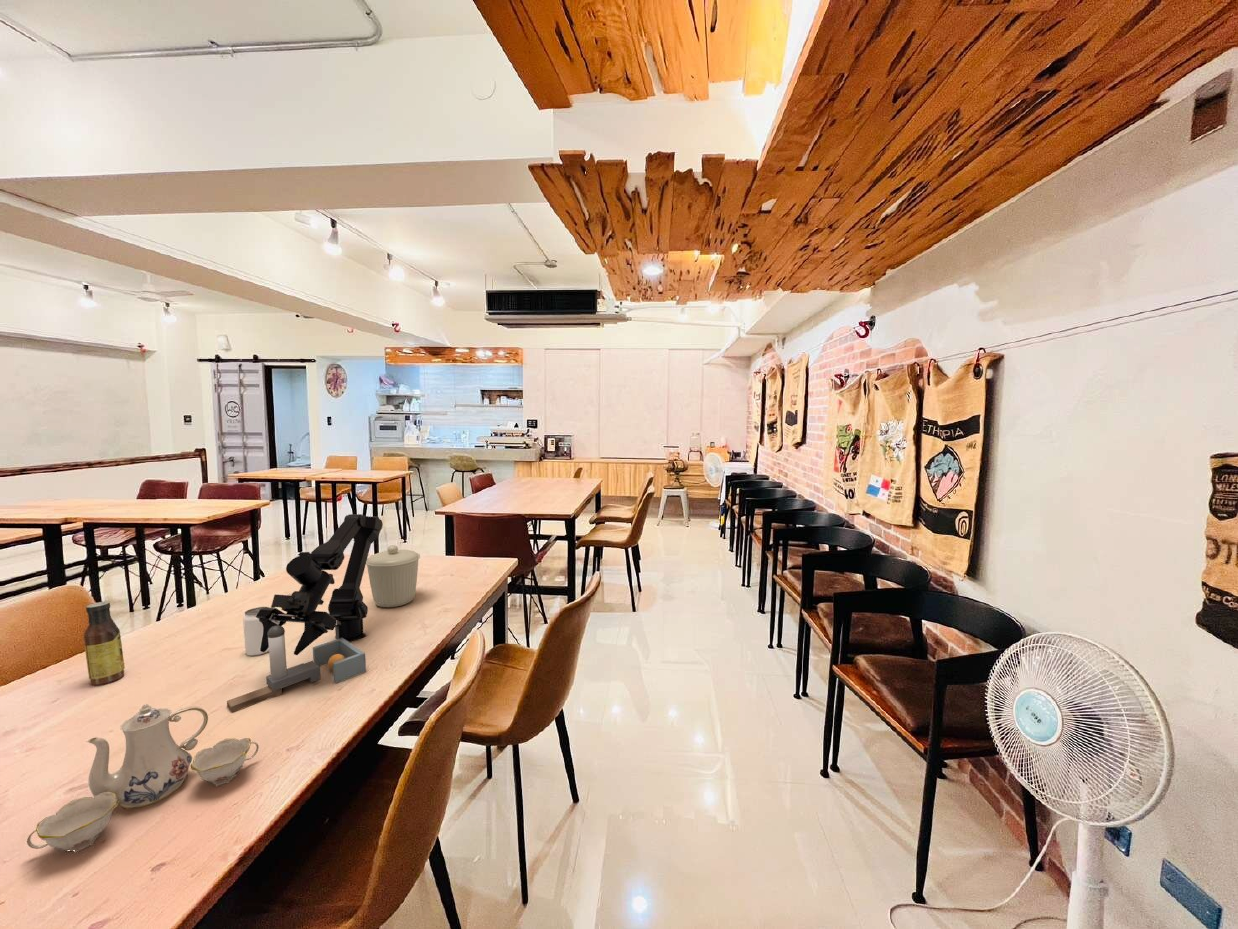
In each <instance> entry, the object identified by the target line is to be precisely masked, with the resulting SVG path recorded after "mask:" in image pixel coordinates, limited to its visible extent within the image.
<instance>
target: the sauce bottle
mask: <svg viewBox="0 0 1238 929" xmlns="http://www.w3.org/2000/svg"><path fill="white" fill-rule="evenodd" d="M110 610H111V604H110V602H109V601H99V602H94V603H91V604H88V605H86V606H85V611H86V613H87V616H88V626H87V628H86V629H85V631H84V632H83V639H84V652H85V659H86V667H87V674H88V680H89V681H90V685H93V686H100V685H106V684H110V683H112V682H115V681H117V680H119V679H121V678H122V677H123V676H125V659H124V652H123V643H122V637H121V630H120V629H119V626H118V625H117V624H116V622H115V621H114V619H113V618H112V616H111V611H110Z"/></svg>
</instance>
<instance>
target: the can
mask: <svg viewBox="0 0 1238 929" xmlns="http://www.w3.org/2000/svg"><path fill="white" fill-rule="evenodd" d="M265 607H266V608H270V607H269V606H258V607H253V608H251V609H248V610H246V611H245V612H244V616H243V619H242V620H243V621H242V622H243V636H244V637H243V638H244V647H245V654H246V656H249V655H250V656H251V657H256V656H262V655H265V654H268V653H269V647H268V649H267V650H266V651H265V652H261V651H260V648H261V643H262V637H263V625H262V623H261V622H259V619H258V618H256V616H257V614H258V612H259V611H260V609H262V608H265Z"/></svg>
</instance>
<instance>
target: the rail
mask: <svg viewBox="0 0 1238 929" xmlns="http://www.w3.org/2000/svg"><path fill="white" fill-rule="evenodd" d="M282 689H283V688H281V689H278V690H275V691H273V690H272V689H271V688H270V687H269V686H268V685H267V686H265V687H261V688H258V689H257V690H254V691H251V692H248V693H244V694H242V695H239V696H236V697H233V698H231V699H228V700H226V707H227V708H228V710H229V711H230V713H234V712H237V711H240V710H242V709H245V708H248V707H250V706H252V705H254V704H255V705H256V704H258V703H261V702H263V701H266V700H269V699H271V698H273V697H276V696H279V695H282V694H283V690H282Z"/></svg>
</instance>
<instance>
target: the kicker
mask: <svg viewBox="0 0 1238 929" xmlns="http://www.w3.org/2000/svg"><path fill="white" fill-rule="evenodd" d="M285 632H286V630H285V628H284V627H283V625H282V626H279V625H276V626H273V627H271V628H270V629H269V631H268V634H267V635H268V642H269V652H268V653H269V669H270V674H268V675H266V676H265V682H266V685H267V686H269V687H270V688H271V689H272V690H273V691H275V690H278V689H281V688H282V689H283V688H287V687H288V686H291V685H293V684H296V683H299V682H302V681H304V680H306V679H307V680H308V681H309V682H310V683H313V682H317V681H319V680H321V671H320V670H321V668H320V665H317V664H315V663H314V662H313V660H311V661H307V662H305V663H304V662H303V663H300V664H297V665H294V666H291V667H289V668H287V654H286V637H285Z"/></svg>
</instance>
